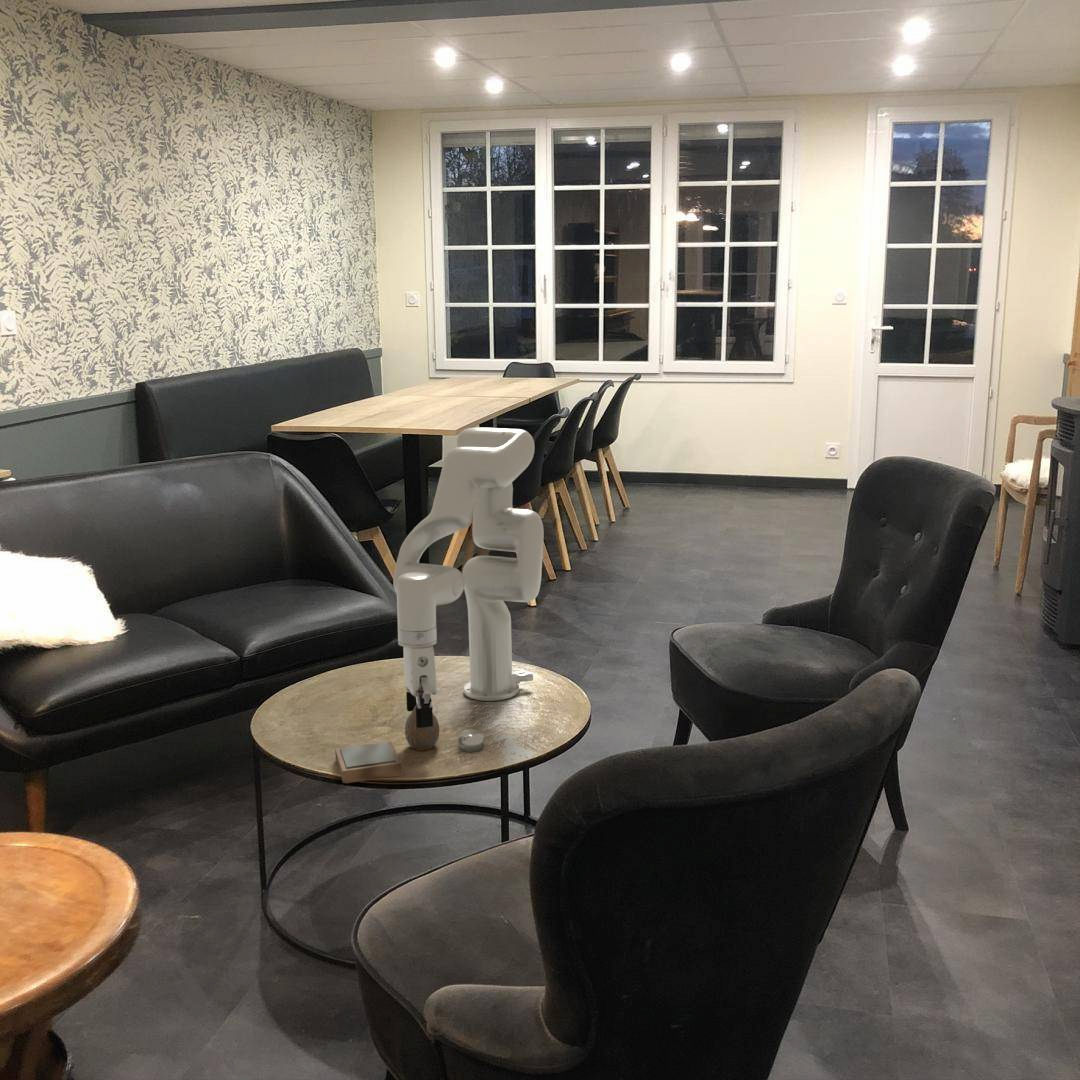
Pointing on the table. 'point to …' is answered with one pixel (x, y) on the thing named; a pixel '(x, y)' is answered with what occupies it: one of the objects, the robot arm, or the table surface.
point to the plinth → (367, 762)
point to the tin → (470, 741)
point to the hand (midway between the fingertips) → (419, 718)
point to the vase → (421, 733)
